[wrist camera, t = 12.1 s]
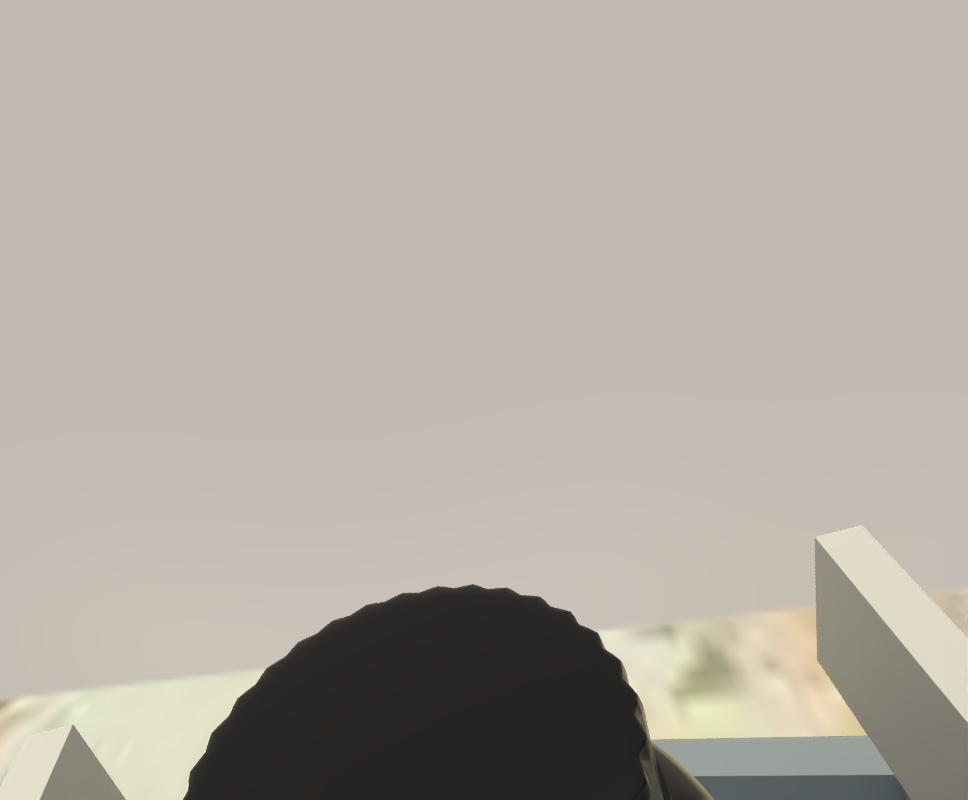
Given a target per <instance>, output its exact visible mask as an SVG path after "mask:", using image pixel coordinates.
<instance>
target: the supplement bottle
mask: <svg viewBox="0 0 968 800" xmlns="http://www.w3.org/2000/svg"><path fill="white" fill-rule="evenodd" d="M183 800H715V799H714V798H713V797H712V796H711V795H710V794H709V793H708V791H707V790H706V789H705V788H704V787H703V786H702V785H701V783H700V782H699V781H698V780H697V779H696V778H694V777H693V776H692V775H691V774H690V773H689V772H688V771H687V770H686V769H685V768H684V767H683V766H682V765H681V764H680V763H679V762H677V761H676V760H675V759H674V758H672V757H671V756H670V755H668V754H667V753H666V752H665V751H663V750H662V749H661V748H659V747H658V746H657V745H655V744H654V743H652V742H651V740H650V735H649V731H648V726H647V721H646V716H645V712H644V708H643V705H642V702H641V700H640V698H639V697H638V695H637V694H636V693H635V691H634V690H633V689H632V688H631V686H630V685H629V682H628V678H627V674H626V671H625V668H624V666H623V664H622V662H621V661H620V660H619V659H618V658H617V657H615V656H614V655H613V654H611V653H610V652H608V651H607V650H605V648H604V645H603V643H602V640H601V638H600V636H599V634H598V633H597V632H595V631H593V630H591V629H589V628H586V627H584V626H581V625H579V624H578V623H577V621H576V619H575V617H574V616H573V614H572V613H571V612H570V611H566V610H562V609H558V608H554V607H550V606H549V605H548V604H547V603H546V601H544V600H543V599H542V598H541V597H538V596H525V595H519V594H518V593H516V592H514V591H513V590H511V589H508V588H496V589H485V588H482V587H480V586H477V585H473V584H472V585H468V586H462V587H458V588H448V587H439V586H438V587H435V588H431V589H428V590H426V591H423V592H420V593H402V594H400V595H398V596H395V597H394V598H391V599H390V600H388V601H386V602H382V603H374V604H369V605H366V606H364V607H363V608H361V609H360V610H358V611H356V612H355V613H353V614H352V615H350V616H347V617H344V618H340V619H337V620H334V621H332V622H330V623H329V624H328V625H327V626H325V627H324V628H323V629H322V630H321V631H320V632H318V633H317V634H315V635H313V636H311V637H308V638H306V639H304V640H302V641H300V642H298V643H297V644H296V645H295V647H294V648H293V649H292V650H291V651H290V652H289V653H288V655H287V656H286V657H284V658H282V659H281V660H279V661H277V662H276V663H274V664H273V665H271V666H270V667H268V668H267V669H266V670H265V671H264V673H263V674H262V676H261V677H260V679H259V681H258V682H257V683H256V685H254V686H253V687H252V688H250V689H249V690H248V691H246V692H245V693H244V694H243V695H242V696H240V697H239V698H238V699H237V701H236V703H235V704H234V706H233V709H232V711H231V713H230V715H229V717H227V718H226V719H225V720H224V721H223V722H222V723H221V724H220V725H219V726H218V727H217V728H216V729H215V730H214V731H213V733H212V734H211V737H210V740H209V742H208V746H207V750H206V752H205V754H204V755H203V756H202V757H201V759H200V760H199V761H198V762H197V764H196V765H195V766H194V768H193V769H192V770H191V772H190V777H189V788H188V792H187V794H186V795H185V797H184V799H183Z"/></svg>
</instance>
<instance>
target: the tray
mask: <svg viewBox="0 0 968 800" xmlns="http://www.w3.org/2000/svg"><path fill="white" fill-rule="evenodd" d="M651 742H652V743H654V744H655V745H657V746H658V747H659V748H661V749H662V750H663V751H665V752H666V753H667V754H668V755H670V756H671V757H672V758H674V759H675V760H676V761H677V762H679V763H680V764H681V765H682V766H683V767H684V768H685V769H686V770H687V771H688V772H689V773H690V774H691V775H692V776H693V777H694V778H696V779H697V780H698V781H699V782H700V783H701V785H702V786H703V787H704V788H705V789H706V790H707V791H708V793H709V794H710V795H711V796H712V797H713V798H714V799H715V800H911V799H910V797H909V796H908V794H907V793H906V791H905V790H904V789H903V787H902V786H901V784H900V783H899V781H898V780H897V778H896V777H895V775H894V774H893V772H892V771H891V769H890V768H889V766H888V765H887V763H886V762H885V760H884V759H883V757H882V756H881V754H880V753H879V751H878V750H877V748H876V747H875V745H874V744H873V742H872V741H871V739H870V738H869V736H828V737H772V738H717V739H662V740H651Z"/></svg>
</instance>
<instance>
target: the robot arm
mask: <svg viewBox="0 0 968 800" xmlns="http://www.w3.org/2000/svg"><path fill="white" fill-rule="evenodd" d="M815 569H816V570H815V571H816V622H817V660H818V662H819V663H820V665H821V666H822V668H823V669H824V670H825V672H826V673H827V675H828V676H829V678H830V679H831V681H832V682H833V684H834V685H835V687H836V688H837V690H838V691H839V693H840V694H841V696H842V697H843V699H844V700H845V702H846V703H847V705H848V706H849V708H850V709H851V711H852V712H853V714H854V715H855V717H856V718H857V720H858V721H859V723H860V724H861V726H862V727H863V729H864V730H865V732H866V733H867V735H868V736H869V738H870V739H871V741H872V742H873V744H874V745H875V747H876V748H877V750H878V751H879V753H880V754H881V756H882V757H883V759H884V760H885V762H886V763H887V765H888V766H889V768H890V769H891V771H892V772H893V774H894V775H895V777H896V778H897V780H898V781H899V783H900V784H901V786H902V787H903V789H904V790H905V791H906V793H907V794H908V796H909V797H910V799H911V800H968V638H967V637H966V636H965V635H964V634H963V633H962V632H961V631H960V630H959V628H958V627H957V626H956V625H955V624H954V623H953V622H952V621H951V620H950V619H949V618H948V617H947V616H946V615H945V613H944V612H943V611H942V610H941V609H940V608H939V607H938V606H937V605H936V604H935V603H934V602H933V601H932V600H931V598H930V597H929V596H928V595H927V594H926V593H925V592H924V591H923V590H922V589H921V588H920V587H919V586H918V585H917V583H915V581H914V580H913V579H912V578H911V577H910V576H909V575H908V574H907V573H906V572H905V571H904V570H903V568H901V566H900V565H899V564H898V563H897V562H896V561H895V560H894V559H893V558H892V557H891V556H890V555H889V554H888V552H887V551H886V550H885V549H884V548H883V547H882V546H881V545H880V544H879V543H878V542H877V541H876V540H875V539H874V537H873V536H872V535H871V534H870V533H869V532H868V531H867V530H866V529H865V528H864V527H863V526H862V525H860V526H856V527H852V528H848V529H844V530H840V531H836V532H832V533H828V534H825V535H821V536H816V537H815ZM0 800H126V799H125V798H124V796H123V795H122V793H121V792H120V791H119V789H118V788H117V786H116V785H115V784H114V782H113V781H112V779H111V778H110V776H109V775H108V774H107V772H106V771H105V769H104V768H103V766H102V765H101V764H100V762H99V761H98V759H97V758H96V757H95V755H94V754H93V752H92V751H91V749H90V748H89V747H88V745H87V744H86V742H85V741H84V739H83V738H82V737H81V735H80V734H79V732H78V731H77V730H76V728H75V727H74V725H73V724H72V725H68V726H64V727H60V728H56V729H52V730H48V731H44V732H40V733H36V734H33V735H29V736H26V737H25V739H24V741H23V743H22V745H21V747H20V749H19V751H18V753H17V755H16V757H15V759H14V761H13V763H12V765H11V767H10V769H9V771H8V773H7V775H6V777H5V779H4V781H3V783H2V785H1V787H0Z"/></svg>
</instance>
